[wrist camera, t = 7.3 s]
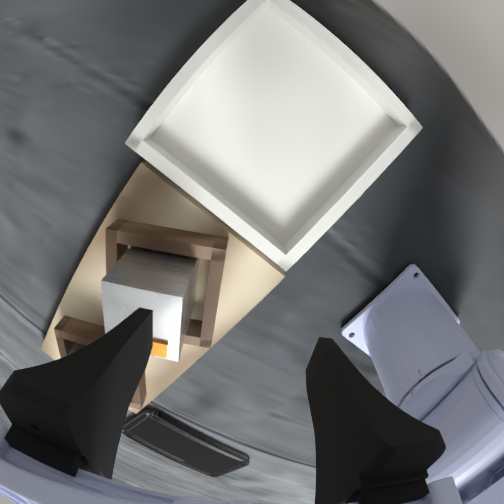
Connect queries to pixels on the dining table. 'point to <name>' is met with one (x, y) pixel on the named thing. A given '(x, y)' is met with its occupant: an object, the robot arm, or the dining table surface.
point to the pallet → (182, 214)
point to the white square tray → (274, 127)
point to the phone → (182, 444)
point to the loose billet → (153, 295)
